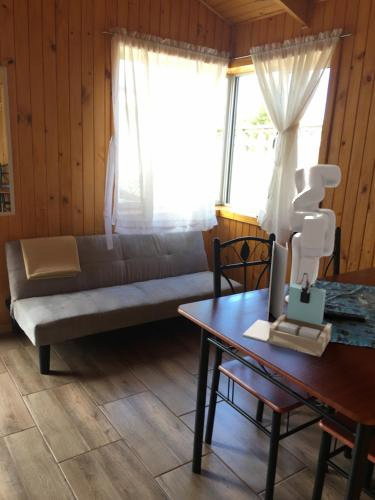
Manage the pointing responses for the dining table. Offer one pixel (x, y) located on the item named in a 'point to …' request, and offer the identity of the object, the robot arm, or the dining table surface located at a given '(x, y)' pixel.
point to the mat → (259, 330)
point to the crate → (300, 342)
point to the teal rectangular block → (306, 305)
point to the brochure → (277, 280)
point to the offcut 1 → (288, 328)
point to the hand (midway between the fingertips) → (306, 300)
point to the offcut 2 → (309, 333)
